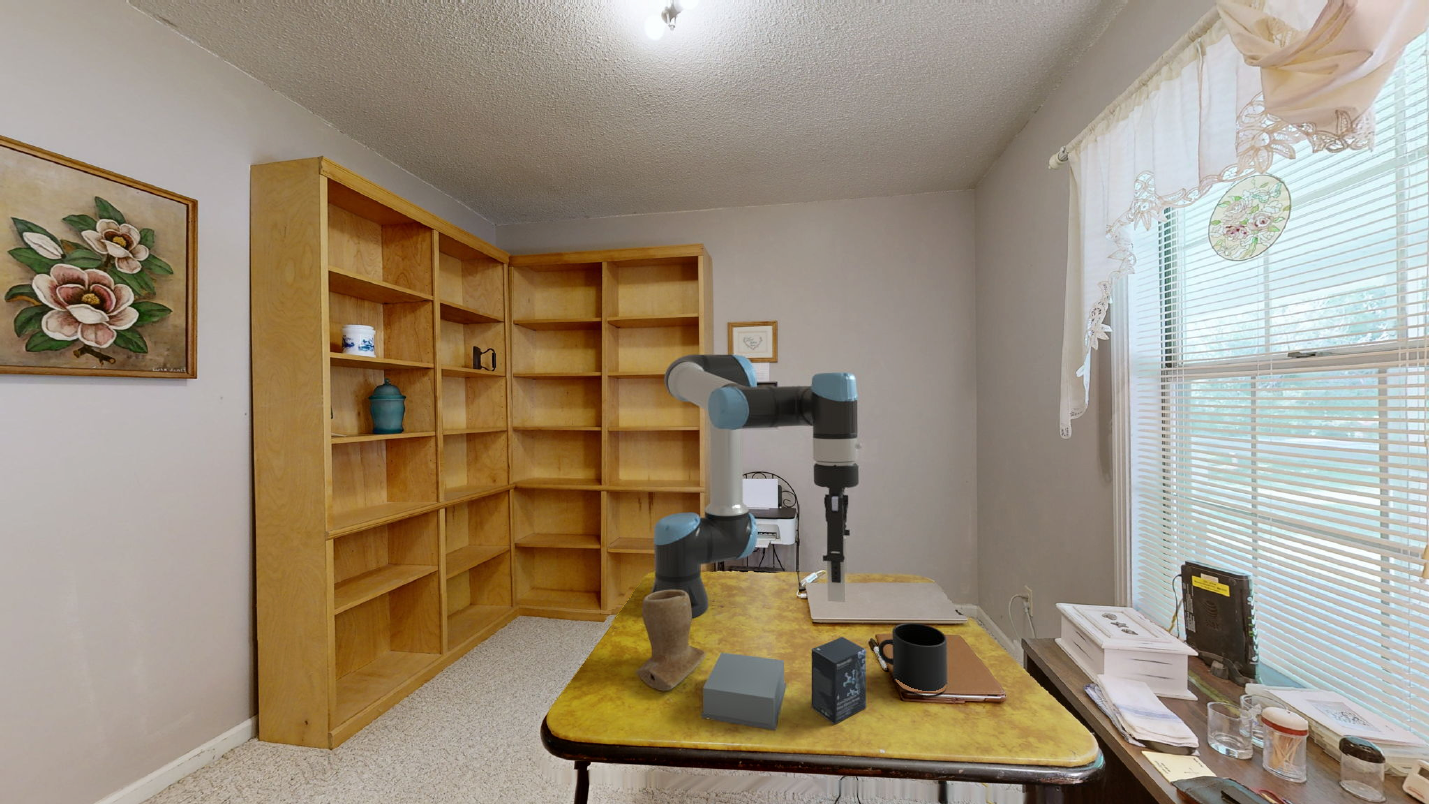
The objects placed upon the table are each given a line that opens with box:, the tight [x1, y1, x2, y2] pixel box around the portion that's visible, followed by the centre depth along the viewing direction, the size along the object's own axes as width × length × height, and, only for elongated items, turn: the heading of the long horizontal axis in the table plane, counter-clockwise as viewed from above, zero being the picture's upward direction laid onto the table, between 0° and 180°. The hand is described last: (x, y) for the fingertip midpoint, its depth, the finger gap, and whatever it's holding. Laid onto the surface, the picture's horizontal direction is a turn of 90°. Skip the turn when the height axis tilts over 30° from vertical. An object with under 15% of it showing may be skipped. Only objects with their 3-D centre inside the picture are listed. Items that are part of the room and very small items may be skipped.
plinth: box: [700, 652, 787, 731], centre depth 89 cm, size 13×13×5 cm
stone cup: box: [636, 590, 707, 692], centre depth 100 cm, size 15×12×15 cm
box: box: [811, 636, 867, 725], centre depth 87 cm, size 8×6×11 cm
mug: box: [878, 622, 948, 691], centre depth 95 cm, size 9×12×9 cm
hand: (838, 585), depth 87 cm, fingers open, 13 cm apart
